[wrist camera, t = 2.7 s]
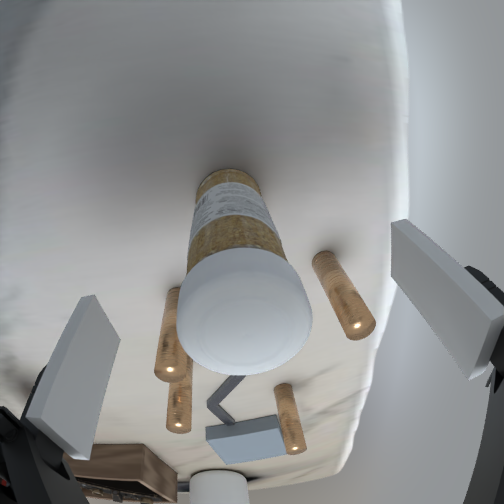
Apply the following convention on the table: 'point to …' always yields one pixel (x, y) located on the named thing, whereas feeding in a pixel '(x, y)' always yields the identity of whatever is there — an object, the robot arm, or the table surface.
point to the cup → (218, 488)
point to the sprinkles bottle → (239, 283)
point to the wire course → (181, 368)
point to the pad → (247, 440)
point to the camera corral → (126, 469)
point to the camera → (120, 489)
